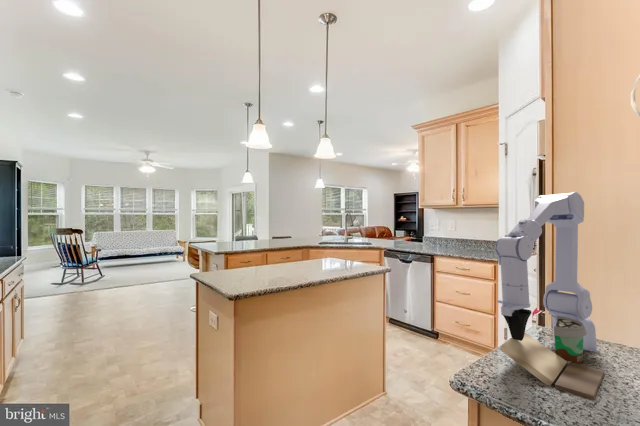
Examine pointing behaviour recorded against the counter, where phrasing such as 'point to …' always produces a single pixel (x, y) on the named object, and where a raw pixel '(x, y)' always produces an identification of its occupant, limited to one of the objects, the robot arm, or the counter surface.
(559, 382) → the walnut board
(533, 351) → the oak plank
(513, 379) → the counter surface
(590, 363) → the counter surface
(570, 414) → the counter surface
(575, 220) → the robot arm
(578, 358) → the food container
